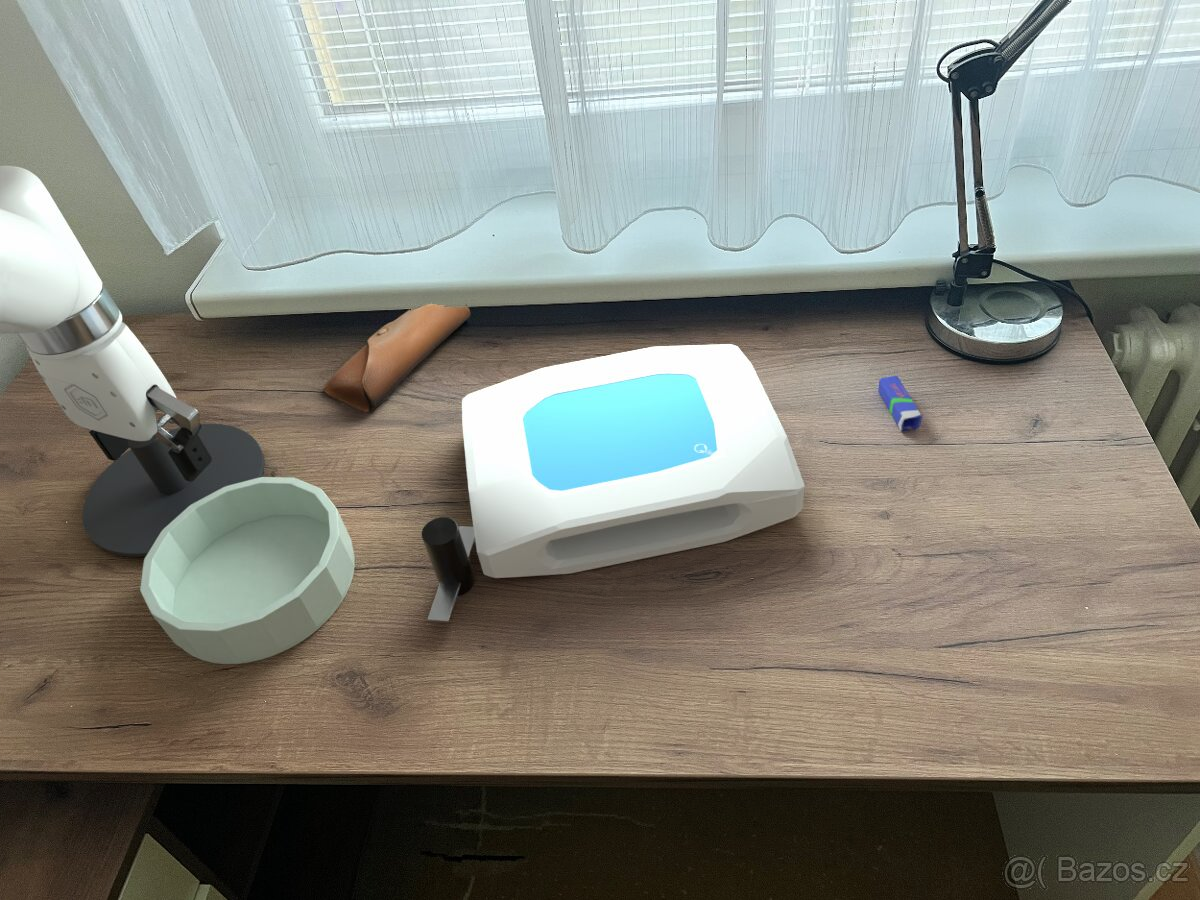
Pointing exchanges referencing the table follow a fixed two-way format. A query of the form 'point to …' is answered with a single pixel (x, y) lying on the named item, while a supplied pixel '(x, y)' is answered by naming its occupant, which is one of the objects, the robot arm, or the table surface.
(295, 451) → the table surface
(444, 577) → the blade
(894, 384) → the eraser
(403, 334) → the sunglasses case
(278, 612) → the bowl
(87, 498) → the lid
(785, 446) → the document scanner
